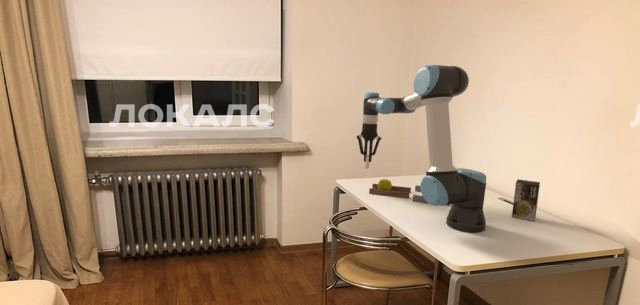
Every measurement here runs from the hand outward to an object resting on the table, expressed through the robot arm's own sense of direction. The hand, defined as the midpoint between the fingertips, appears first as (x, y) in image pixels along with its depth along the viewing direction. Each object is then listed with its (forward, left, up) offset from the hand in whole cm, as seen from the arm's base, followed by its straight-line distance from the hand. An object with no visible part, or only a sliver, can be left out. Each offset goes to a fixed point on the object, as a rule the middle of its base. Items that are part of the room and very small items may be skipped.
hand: (367, 167), depth 202 cm
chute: (0, -13, -12) cm, 17 cm away
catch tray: (0, -33, -12) cm, 35 cm away
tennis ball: (0, -10, -12) cm, 16 cm away
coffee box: (-14, -73, -12) cm, 75 cm away
